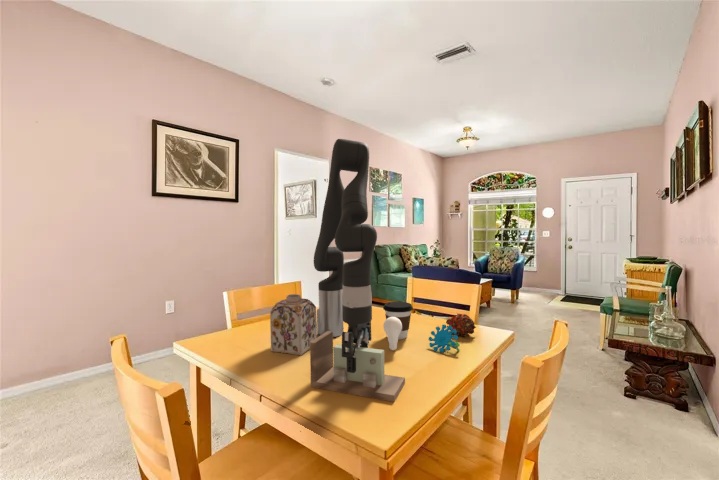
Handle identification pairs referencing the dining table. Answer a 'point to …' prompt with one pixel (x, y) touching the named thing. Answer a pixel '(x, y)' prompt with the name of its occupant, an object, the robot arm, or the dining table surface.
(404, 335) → the coffee cup
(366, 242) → the robot arm
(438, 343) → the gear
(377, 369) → the door
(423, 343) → the dining table surface
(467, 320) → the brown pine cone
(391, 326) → the lightbulb
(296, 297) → the decorative jar
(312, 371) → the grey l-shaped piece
